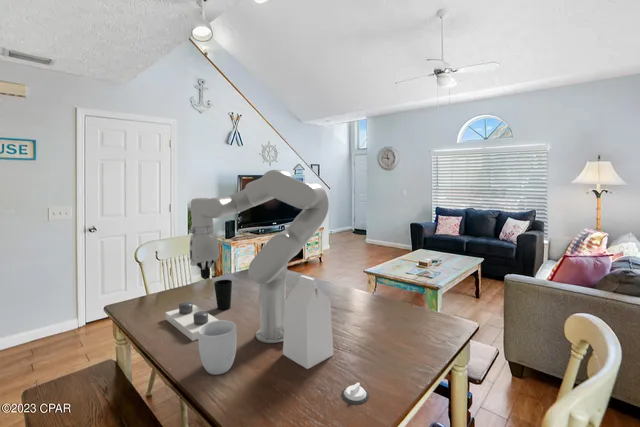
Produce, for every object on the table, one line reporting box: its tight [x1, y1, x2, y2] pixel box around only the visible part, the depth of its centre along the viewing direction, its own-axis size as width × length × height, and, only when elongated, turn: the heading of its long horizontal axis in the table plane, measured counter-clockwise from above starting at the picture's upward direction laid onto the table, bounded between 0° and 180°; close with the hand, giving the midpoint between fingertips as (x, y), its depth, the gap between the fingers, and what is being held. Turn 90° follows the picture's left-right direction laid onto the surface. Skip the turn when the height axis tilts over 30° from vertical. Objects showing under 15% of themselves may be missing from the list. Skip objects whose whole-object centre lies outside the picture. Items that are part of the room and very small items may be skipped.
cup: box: [214, 279, 233, 312], centre depth 147 cm, size 8×8×12 cm
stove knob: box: [341, 381, 370, 406], centre depth 87 cm, size 7×7×3 cm
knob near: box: [193, 310, 209, 325], centre depth 126 cm, size 5×5×6 cm
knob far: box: [178, 301, 194, 314], centre depth 135 cm, size 5×5×6 cm
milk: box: [282, 275, 334, 370], centre depth 107 cm, size 12×12×26 cm
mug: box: [197, 319, 238, 376], centre depth 101 cm, size 15×11×13 cm
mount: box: [165, 304, 219, 342], centre depth 131 cm, size 26×12×3 cm, turn 45°
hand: (205, 278), depth 126 cm, fingers closed
